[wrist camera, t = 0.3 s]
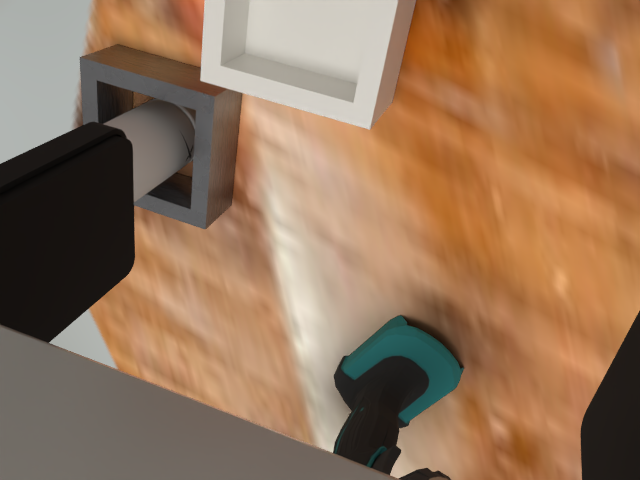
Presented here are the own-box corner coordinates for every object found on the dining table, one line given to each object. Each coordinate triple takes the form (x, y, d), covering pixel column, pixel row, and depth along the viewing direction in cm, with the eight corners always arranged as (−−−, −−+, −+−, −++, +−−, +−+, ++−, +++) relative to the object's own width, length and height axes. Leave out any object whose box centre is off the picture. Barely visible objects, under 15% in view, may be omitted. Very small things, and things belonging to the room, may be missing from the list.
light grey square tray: (256, -123, 43) (211, -126, 37) (436, -86, 40) (416, -82, 35) (239, 60, 50) (200, 80, 44) (392, 102, 47) (369, 129, 42)
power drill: (471, 244, 51) (407, 485, 30) (552, 313, 51) (544, 596, 31) (302, 392, 65) (182, 620, 45) (366, 444, 66) (276, 694, 45)
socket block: (117, 44, 53) (79, 57, 49) (243, 79, 50) (214, 96, 46) (119, 168, 59) (86, 188, 55) (231, 205, 57) (205, 229, 53)
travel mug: (222, 138, 54) (71, 246, 37) (175, 173, 57) (19, 285, 41) (177, 78, 52) (0, 163, 36) (132, 117, 56) (-48, 211, 40)
